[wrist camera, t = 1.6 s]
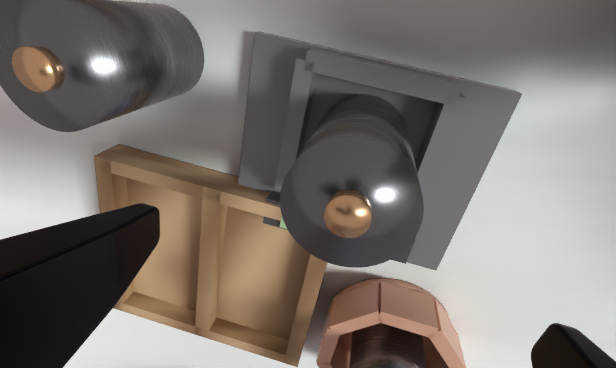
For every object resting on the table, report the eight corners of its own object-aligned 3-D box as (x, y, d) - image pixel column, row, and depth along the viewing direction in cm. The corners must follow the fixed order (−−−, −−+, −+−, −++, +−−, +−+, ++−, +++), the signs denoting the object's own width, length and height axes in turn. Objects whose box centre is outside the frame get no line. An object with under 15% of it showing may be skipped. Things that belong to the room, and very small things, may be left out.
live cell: (421, 107, 15) (450, 171, 9) (391, 190, 17) (397, 293, 11) (328, 84, 16) (288, 129, 9) (309, 168, 18) (266, 255, 11)
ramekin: (471, 300, 20) (485, 342, 18) (425, 380, 24) (430, 425, 21) (342, 263, 21) (336, 298, 18) (316, 346, 25) (308, 385, 22)
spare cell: (206, 14, 16) (85, 9, 10) (201, 103, 18) (99, 149, 12) (123, -5, 17) (-48, -22, 10) (127, 84, 19) (-13, 118, 12)
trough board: (342, 205, 19) (338, 223, 17) (303, 342, 25) (297, 367, 23) (118, 144, 21) (94, 155, 19) (129, 287, 26) (110, 307, 24)
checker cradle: (515, 90, 15) (535, 100, 13) (434, 261, 20) (439, 287, 18) (260, 31, 16) (243, 33, 14) (239, 206, 21) (224, 226, 19)
